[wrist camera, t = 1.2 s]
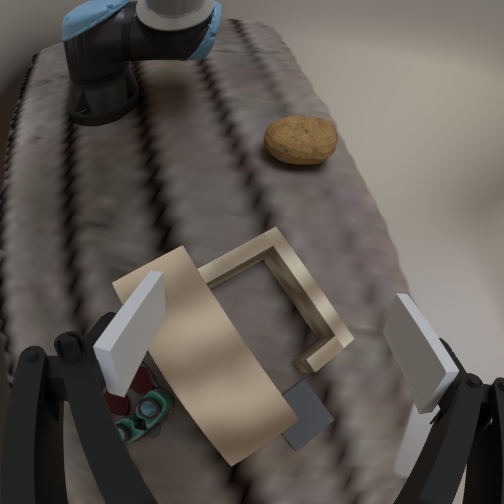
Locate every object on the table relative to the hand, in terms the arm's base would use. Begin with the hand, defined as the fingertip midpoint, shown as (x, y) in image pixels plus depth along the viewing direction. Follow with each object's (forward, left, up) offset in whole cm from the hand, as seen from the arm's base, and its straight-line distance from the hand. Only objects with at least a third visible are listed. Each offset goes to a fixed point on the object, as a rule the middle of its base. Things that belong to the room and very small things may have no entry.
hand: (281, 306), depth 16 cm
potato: (-21, +28, -23) cm, 42 cm away
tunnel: (0, +3, -23) cm, 23 cm away
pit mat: (+14, +3, -23) cm, 27 cm away
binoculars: (0, -14, -23) cm, 27 cm away
